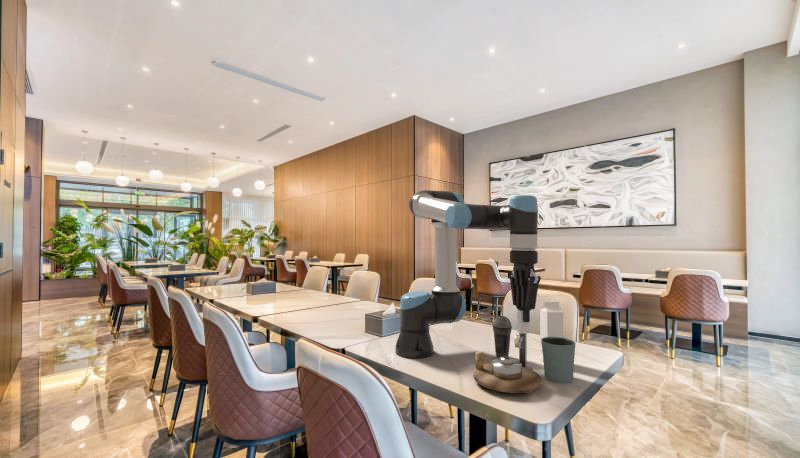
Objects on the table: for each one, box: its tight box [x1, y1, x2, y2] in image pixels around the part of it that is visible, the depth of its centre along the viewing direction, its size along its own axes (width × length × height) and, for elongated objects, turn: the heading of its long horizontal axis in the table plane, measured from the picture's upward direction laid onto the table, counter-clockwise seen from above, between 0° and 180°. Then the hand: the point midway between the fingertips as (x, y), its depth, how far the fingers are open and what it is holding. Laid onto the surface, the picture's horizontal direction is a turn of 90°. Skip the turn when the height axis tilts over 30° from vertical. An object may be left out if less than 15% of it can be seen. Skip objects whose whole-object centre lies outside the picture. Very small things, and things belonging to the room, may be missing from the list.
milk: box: [539, 301, 565, 362], centre depth 130 cm, size 6×6×22 cm
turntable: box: [473, 351, 542, 394], centre depth 109 cm, size 20×20×6 cm
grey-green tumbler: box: [541, 337, 576, 384], centre depth 114 cm, size 10×10×12 cm
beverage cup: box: [491, 304, 513, 359], centre depth 135 cm, size 7×7×20 cm
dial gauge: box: [514, 333, 533, 370], centre depth 117 cm, size 5×12×14 cm, turn 149°
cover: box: [491, 355, 522, 380], centre depth 109 cm, size 9×9×5 cm
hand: (523, 332), depth 100 cm, fingers closed
